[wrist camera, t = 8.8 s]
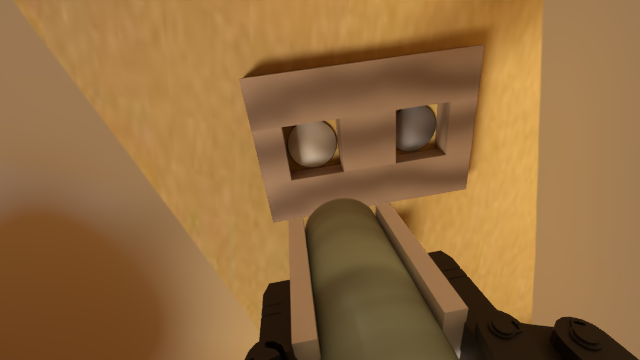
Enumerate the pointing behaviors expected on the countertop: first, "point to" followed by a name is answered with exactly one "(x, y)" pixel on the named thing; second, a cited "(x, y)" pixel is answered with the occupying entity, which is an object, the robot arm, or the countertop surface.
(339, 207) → the pin
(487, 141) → the countertop surface
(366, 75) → the board
